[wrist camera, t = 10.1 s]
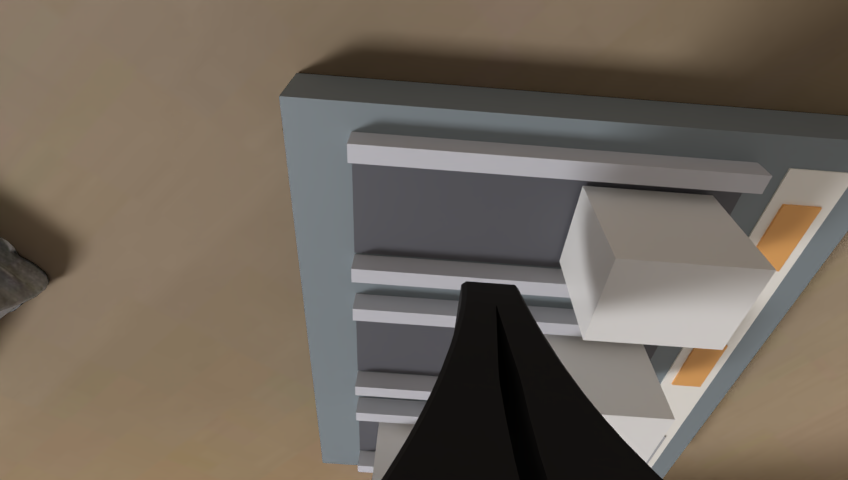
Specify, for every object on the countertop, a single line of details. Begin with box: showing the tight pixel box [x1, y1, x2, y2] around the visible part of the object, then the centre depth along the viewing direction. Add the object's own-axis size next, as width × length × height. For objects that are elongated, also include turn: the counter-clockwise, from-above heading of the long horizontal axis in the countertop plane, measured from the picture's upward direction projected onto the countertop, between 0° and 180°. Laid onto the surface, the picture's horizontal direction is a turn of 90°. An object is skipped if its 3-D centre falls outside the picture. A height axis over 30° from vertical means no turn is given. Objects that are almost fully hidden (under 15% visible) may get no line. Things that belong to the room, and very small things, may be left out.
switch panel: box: [279, 73, 848, 479], centre depth 20 cm, size 20×18×3 cm
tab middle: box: [544, 334, 675, 462], centre depth 18 cm, size 3×4×4 cm
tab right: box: [559, 186, 776, 350], centre depth 14 cm, size 3×4×4 cm
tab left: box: [372, 422, 415, 480], centre depth 22 cm, size 3×4×4 cm
